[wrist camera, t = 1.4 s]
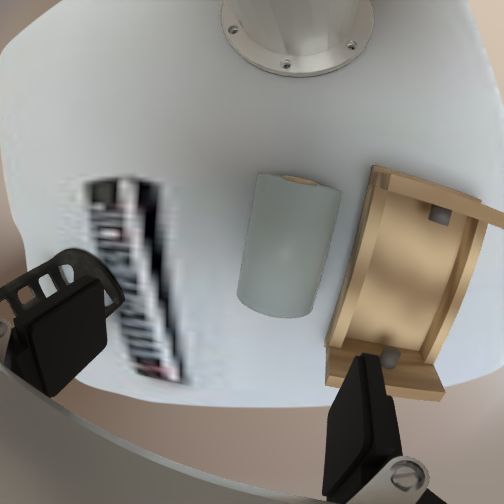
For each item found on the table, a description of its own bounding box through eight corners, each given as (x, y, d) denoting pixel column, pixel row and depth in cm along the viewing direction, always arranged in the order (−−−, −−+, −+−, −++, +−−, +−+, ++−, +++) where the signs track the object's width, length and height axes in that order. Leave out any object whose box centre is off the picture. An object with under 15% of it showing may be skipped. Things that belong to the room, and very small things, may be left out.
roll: (255, 168, 24) (261, 174, 18) (328, 182, 24) (355, 193, 19) (236, 280, 27) (236, 315, 21) (303, 289, 27) (319, 325, 22)
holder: (128, 269, 29) (-26, 394, 11) (127, 326, 32) (11, 449, 14) (56, 238, 31) (-82, 318, 13) (60, 291, 34) (-53, 378, 16)
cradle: (372, 165, 22) (392, 165, 16) (476, 198, 21) (519, 211, 14) (324, 341, 27) (323, 390, 21) (418, 359, 26) (436, 406, 19)
